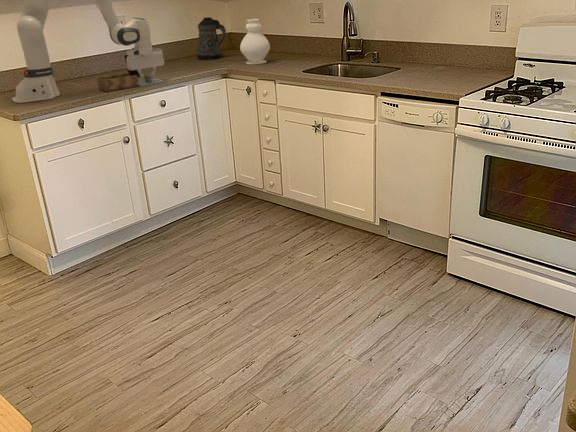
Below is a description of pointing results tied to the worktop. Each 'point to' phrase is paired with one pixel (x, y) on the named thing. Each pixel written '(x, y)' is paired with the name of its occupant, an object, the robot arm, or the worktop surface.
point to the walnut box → (117, 82)
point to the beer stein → (210, 39)
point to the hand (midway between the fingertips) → (147, 76)
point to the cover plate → (149, 81)
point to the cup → (133, 72)
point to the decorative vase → (254, 43)
